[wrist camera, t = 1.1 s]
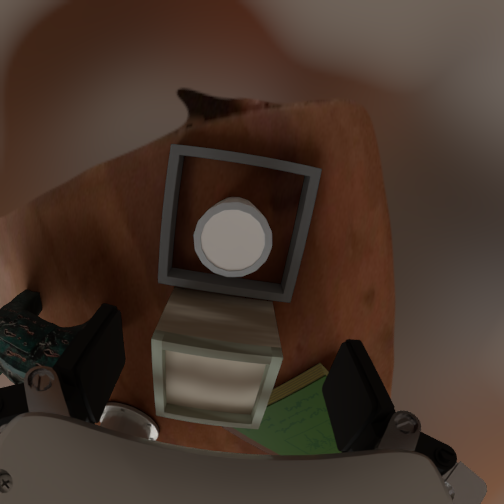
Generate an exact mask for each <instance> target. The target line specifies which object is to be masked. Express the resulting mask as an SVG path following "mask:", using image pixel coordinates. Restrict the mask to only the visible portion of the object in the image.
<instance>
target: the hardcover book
mask: <svg viewBox="0 0 504 504" xmlns="http://www.w3.org/2000/svg"><path fill="white" fill-rule="evenodd" d="M328 373H329V372H328V371H327V370H326V368H325V367H324V366H323V365H322V364H321V363H319V364H317V365H315V366H314V367H312V368H310V369H309V370H307V371H305V372H304V373H302V374H300V375H298V376H297V377H295V378H293V379H291V380H289V381H288V382H286V383H284V384H282V385H280V386H278V387H276V388H274V389H273V390H272V393H271V395H270V398H269V401H268V404H267V407H266V410H265V412H264V415H263V418H262V421H261V423H260V426H259V429H247V428H235V427H225V426H222V427H223V428H224V429H226V430H228V431H229V432H231V433H233V434H234V435H236V436H238V437H239V438H241V439H243V440H244V441H246V442H248V443H250V444H251V445H253V446H255V447H257V448H259V449H260V450H262V451H264V452H266V453H268V454H270V455H317V454H333V453H340V452H341V451H339V450H338V448H337V445H336V441H335V437H334V433H333V430H332V426H331V422H330V418H329V415H328V411H327V407H326V404H325V400H324V397H323V393H322V386H323V383H324V381H325V379H326V377H327V375H328Z"/></svg>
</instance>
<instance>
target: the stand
mask: <svg viewBox="0 0 504 504" xmlns="http://www.w3.org/2000/svg"><path fill="white" fill-rule="evenodd" d="M151 345H152V368H153V384H154V396H155V407H156V415H157V416H162V417H167V418H172V419H177V420H183V421H188V422H195V423H201V424H209V425H216V426H225V427H235V428H247V429H259V426H260V423H261V421H262V418H263V415H264V412H265V410H266V407H267V404H268V401H269V398H270V395H271V393H272V390H273V387H274V384H275V381H276V378H277V375H278V372H279V369H280V366H281V363H282V360H283V354H282V349H281V344H280V339H279V333H278V328H277V323H276V318H275V312H274V307H273V302H271V301H264V300H256V299H249V298H242V297H235V296H228V295H221V294H215V293H208V292H202V291H196V290H190V289H184V288H178V287H174V289H173V292H172V294H171V296H170V298H169V300H168V302H167V305H166V307H165V309H164V311H163V313H162V316H161V318H160V320H159V322H158V325H157V327H156V329H155V331H154V334H153V336H152V338H151Z"/></svg>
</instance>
